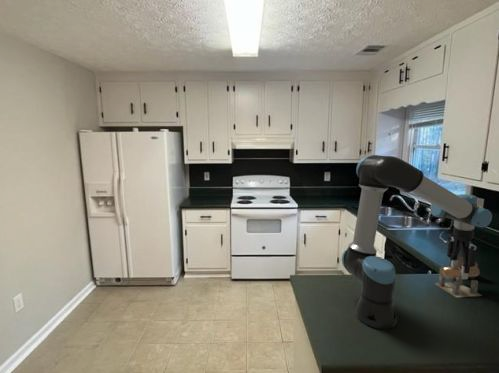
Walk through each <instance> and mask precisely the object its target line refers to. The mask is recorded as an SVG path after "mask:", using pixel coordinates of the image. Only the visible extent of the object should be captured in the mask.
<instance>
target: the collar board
mask: <svg viewBox="0 0 499 373" xmlns="http://www.w3.org/2000/svg"><path fill="white" fill-rule="evenodd" d="M446 279H447V278H443V277H442V276H441V275H440V274H439V277H438V282H435V283H434V285H436V286H438V287H439V288H440V289H442V290H444V291H445V292H447V293H448V294H450V295H451V296H453V297H454V298H467V297H481V296H483V295H482V294H480V293H479V292H478V287H479V281H478V280H476V279H471V280H470V281H471V282H470V287H468V286H466V285H464V284H463V280H462V279H461V277H458V278H456V281H453V284H452V283H450V281H449V282H447V281H446Z"/></svg>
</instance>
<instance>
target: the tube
mask: <svg viewBox="0 0 499 373" xmlns="http://www.w3.org/2000/svg"><path fill="white" fill-rule="evenodd" d="M438 270H439V271H438V272H439V275H441V276H442V277H443V278H446V279H450V278H458V277H461V272H462V266H452V267H449V266H441V267H440V268H439V269H438ZM480 273H481V272H480V268H479V269H478V267H477V266H474V267H470V271H469V273H468V277H472V276H476V277H478V276H479V275H480Z"/></svg>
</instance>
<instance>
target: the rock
mask: <svg viewBox="0 0 499 373" xmlns="http://www.w3.org/2000/svg"><path fill="white" fill-rule="evenodd" d="M457 258H458V259H457V260H458V266H462V265H464V261H463V256H460V257H457ZM467 264H468V263H467ZM475 266H477V267H478V269H479V270H480V266H479V264H478V262H476V261H475ZM448 267H451V265H450V264H449V266H448ZM476 277H477V276H472V277H468V279H471V280H474V279H475V278H476Z"/></svg>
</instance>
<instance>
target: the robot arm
mask: <svg viewBox="0 0 499 373" xmlns="http://www.w3.org/2000/svg"><path fill="white" fill-rule="evenodd" d="M355 169H356V170H355V171H356V172H355V173H356V175H357V177H358V178H359V182H358V186H359V187H360V188H361V192H360V197H359V204H358V209H357V217H356V220H355V228H354V234H353V240H352V242H350V243H349V244H348V246H347V248H346V250H344V251H343V252H342V256H341V263H342V266H343V268H344V269H345V271H347V273H348V274H349V275H351V276H353V277H354V278H355V279H356V280H357V281H358V282H359V283H360V284H361V287H360V290H361V292H360V294H361V295H360V297H359V300H358V302H357V304H356V306H355V316H356V318H357V319H358V320H359V321H360V322H362V323H363V324H365V326H368V325H369V327H371V328H375V329H379V330H389V329H392V328H394V327H396V325H397V323H398V316H397V315H398V314H397V311H396V308H395V306H394V295H395V284H396V278H397V277H396V268H395V266H394V264H393V263H391V262H390V260H388V259H385V258H382V257H380V256H377V252H378V251H377V249H376V248H375V242H376V236H377V230H378V225H379V218H380V214H381V208H382V201H383V197H384V193H385V192H386V191H387V190H389V187H391V188H395V189H399V190H401V191H403V192H405V193H412V194H413V195H416V196H417V197H419V198H421V199H423V200H424V201H426V202H428V203H430V208H429V209H430V213H431V215H432V216H434V217H435V218H447V219H451V220H453V228H452V229H453V230H452V235H453V236H448V238H447V239H448V244H447V254H446V256H447V258H450V259H449V260H450V264H449V266H450V265H451V267H452V266H458V260H457V259H458V258H459V257H458V256H459V255H460V251H461V252H462V257H463V261H464V265H462V272H461V279H462V281H463V280H468V279H469V278H468V273H469V271H470V267H474V266H475V262H476V256H477V251H478V248H479V247H478V245H475V244H473V241H472V240H473V238H474V235H475V227H477V228H485V227H488V226H489V225H490V224H491V222H492V219H493V213H492V212H491V211H490V210H489V209H486V208H484V207H479V206H478V197H477V196H476V195H473V194H467V193H466V194H465V193H464V194H463V193H462V194H461V193H460V194H456V193H454V192H452V191H451V190H448V188H446V187H444V186H442V185H440V184H438V183H437V182H435V181H434V180H432V179H431V178H428V177H427V176H425V175H424V172H423V171H422V170H421V169H419V168H417V167H415V166H414V165H412V164H410V163H409V162H407V161H405V160H403V159H401V158H399V157H396V156H392V155H391V156H390V155H378V154H373V155H366V156H365V157H363V158H362V159H360V161H359V162H358V163H357V164H356V168H355ZM467 263H468V264H467Z"/></svg>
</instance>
